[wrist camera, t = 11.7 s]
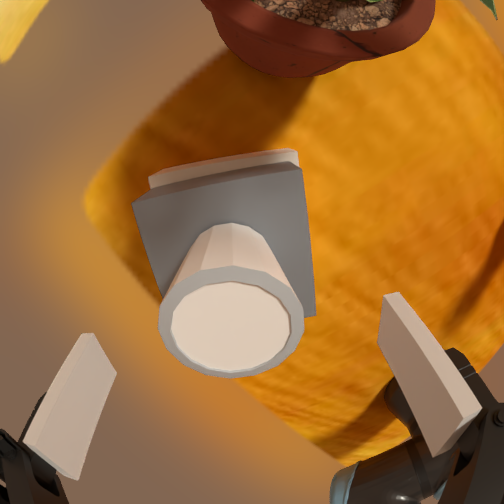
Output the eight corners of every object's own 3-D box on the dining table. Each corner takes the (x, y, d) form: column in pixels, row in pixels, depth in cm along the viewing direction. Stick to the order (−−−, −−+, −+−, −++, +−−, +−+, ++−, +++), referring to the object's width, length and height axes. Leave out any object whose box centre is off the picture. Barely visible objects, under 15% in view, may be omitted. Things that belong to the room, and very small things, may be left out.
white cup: (182, 303, 20) (166, 377, 14) (176, 212, 17) (147, 264, 11) (276, 305, 21) (293, 378, 14) (287, 215, 18) (318, 268, 11)
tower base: (299, 261, 30) (309, 285, 26) (189, 277, 31) (181, 302, 26) (287, 147, 25) (297, 151, 21) (163, 168, 26) (147, 176, 21)
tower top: (304, 282, 26) (316, 315, 21) (187, 301, 26) (177, 336, 22) (288, 160, 21) (301, 169, 17) (153, 187, 22) (131, 203, 17)
